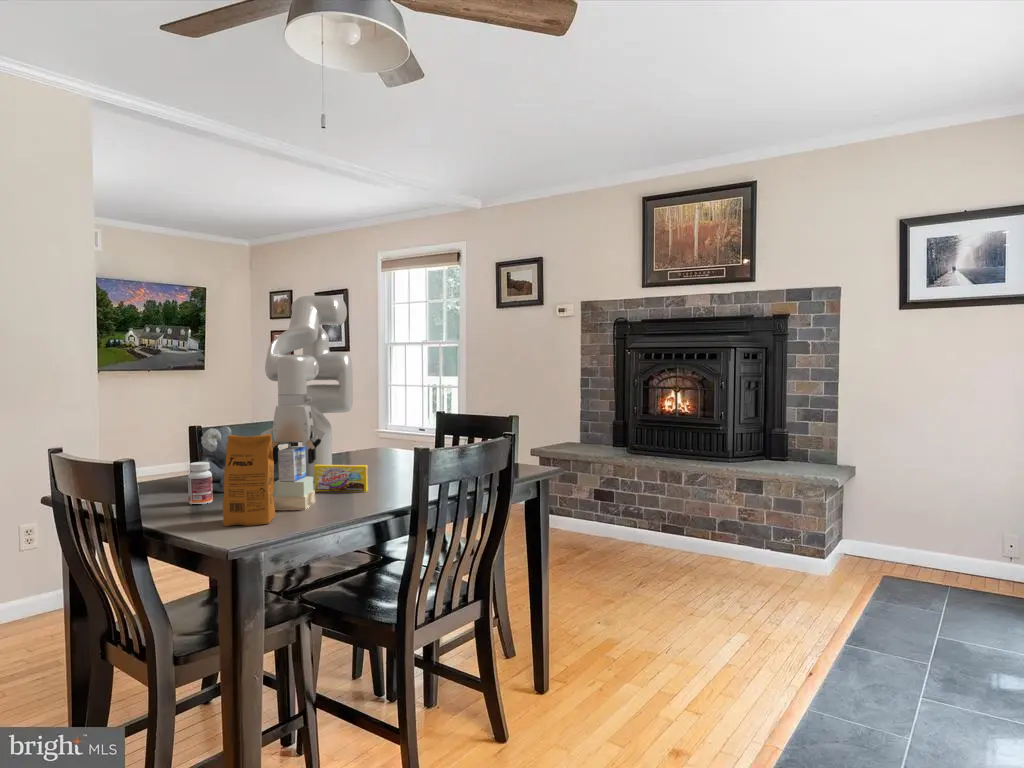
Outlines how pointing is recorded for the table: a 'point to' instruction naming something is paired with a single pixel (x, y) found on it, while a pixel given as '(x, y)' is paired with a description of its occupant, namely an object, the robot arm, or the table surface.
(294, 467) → the medicine box
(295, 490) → the sage block
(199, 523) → the table surface
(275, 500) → the maple block
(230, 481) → the coffee package
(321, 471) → the candy box
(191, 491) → the pill bottle
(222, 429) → the koala plush
